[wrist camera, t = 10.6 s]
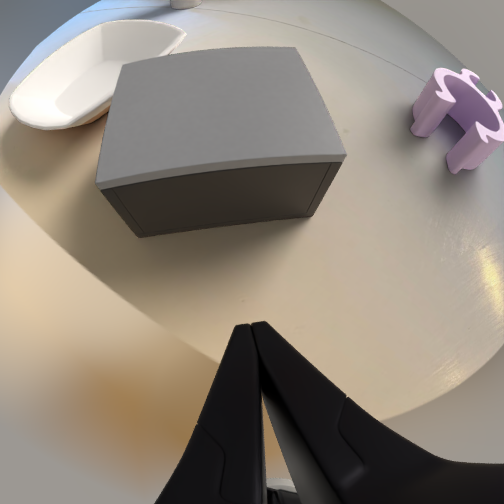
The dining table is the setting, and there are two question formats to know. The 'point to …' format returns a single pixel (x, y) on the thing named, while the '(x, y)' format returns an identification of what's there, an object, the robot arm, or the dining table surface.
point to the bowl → (88, 72)
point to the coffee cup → (184, 3)
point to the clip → (460, 116)
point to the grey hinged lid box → (222, 197)
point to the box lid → (214, 115)
